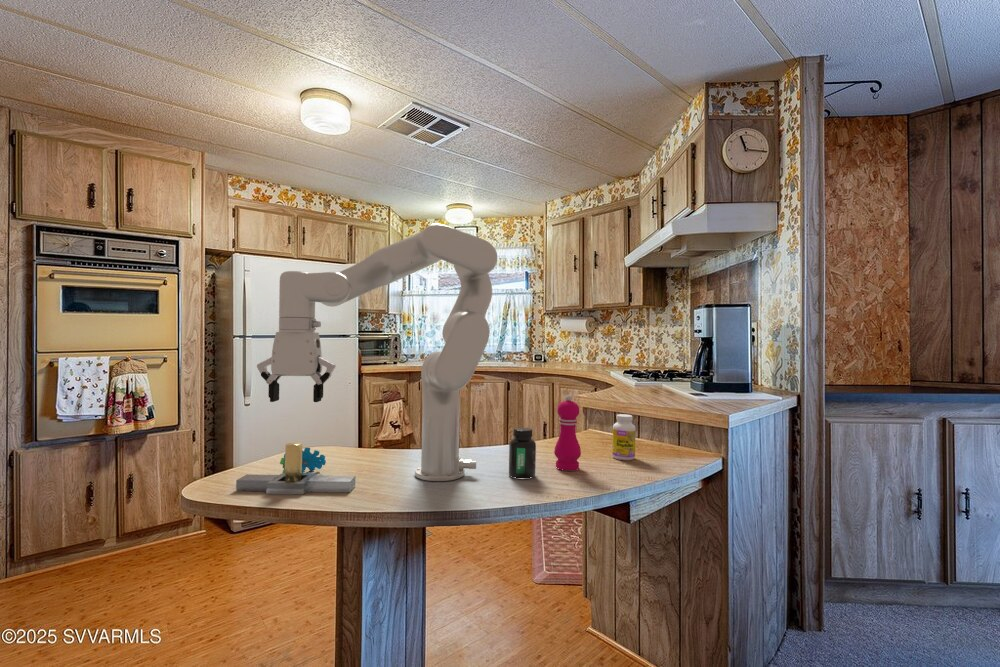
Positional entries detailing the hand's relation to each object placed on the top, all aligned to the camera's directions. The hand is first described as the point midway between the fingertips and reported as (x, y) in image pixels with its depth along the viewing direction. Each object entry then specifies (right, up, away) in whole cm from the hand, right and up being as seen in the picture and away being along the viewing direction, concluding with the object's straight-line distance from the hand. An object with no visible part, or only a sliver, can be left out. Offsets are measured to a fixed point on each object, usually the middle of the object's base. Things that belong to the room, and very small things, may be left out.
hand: (296, 401), depth 107 cm
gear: (-3, -20, +11) cm, 23 cm away
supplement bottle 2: (+84, -22, +34) cm, 93 cm away
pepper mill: (+65, -22, +22) cm, 72 cm away
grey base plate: (-1, -20, 0) cm, 20 cm away
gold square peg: (0, -20, 0) cm, 20 cm away
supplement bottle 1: (+52, -21, +13) cm, 58 cm away
